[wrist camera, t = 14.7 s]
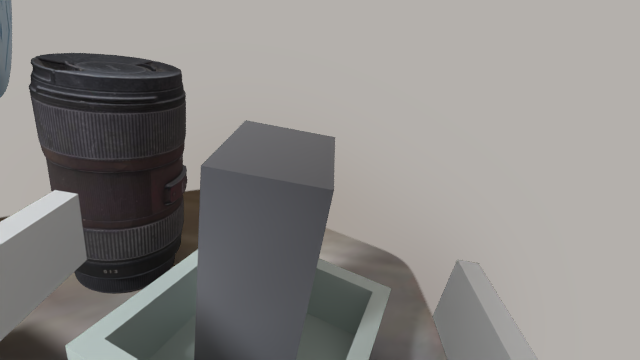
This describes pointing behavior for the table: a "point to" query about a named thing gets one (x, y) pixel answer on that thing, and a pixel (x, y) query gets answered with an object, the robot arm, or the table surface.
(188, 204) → the table surface
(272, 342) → the tall grey pillar
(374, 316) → the bin
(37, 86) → the camera lens
